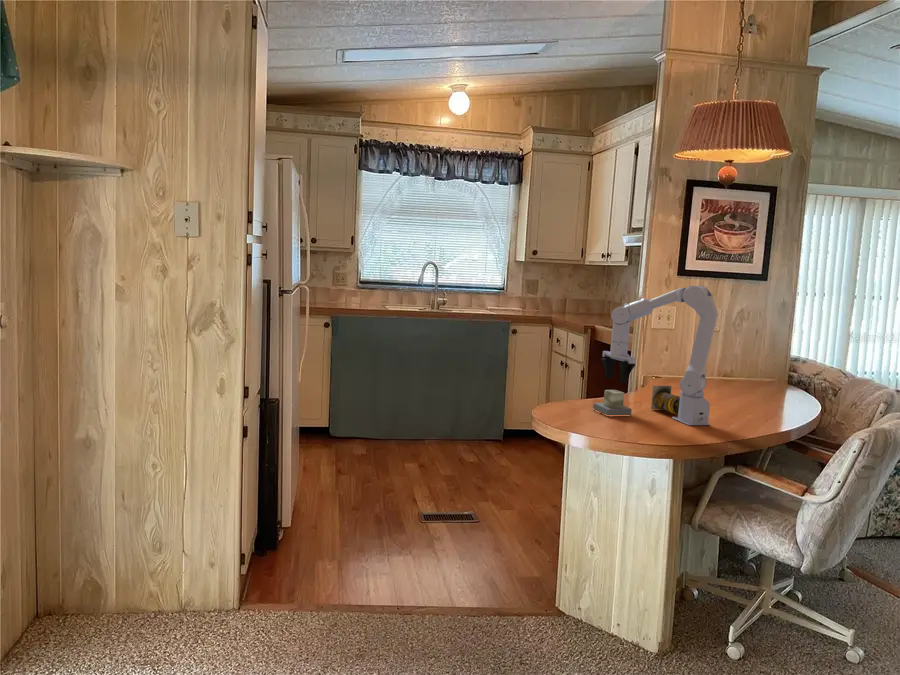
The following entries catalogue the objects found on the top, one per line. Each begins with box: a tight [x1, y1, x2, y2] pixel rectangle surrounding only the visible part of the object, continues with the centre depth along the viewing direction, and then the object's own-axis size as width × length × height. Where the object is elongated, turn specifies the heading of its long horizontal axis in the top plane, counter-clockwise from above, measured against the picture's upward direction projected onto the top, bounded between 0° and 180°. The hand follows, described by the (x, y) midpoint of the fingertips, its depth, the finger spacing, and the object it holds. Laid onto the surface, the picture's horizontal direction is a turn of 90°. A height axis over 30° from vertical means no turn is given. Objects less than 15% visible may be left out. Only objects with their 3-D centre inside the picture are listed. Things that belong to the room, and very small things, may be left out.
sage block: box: [602, 389, 625, 408], centre depth 224 cm, size 4×4×5 cm
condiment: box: [650, 385, 680, 415], centre depth 229 cm, size 7×8×12 cm
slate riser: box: [592, 402, 633, 416], centre depth 225 cm, size 9×9×3 cm
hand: (616, 380), depth 233 cm, fingers open, 7 cm apart
